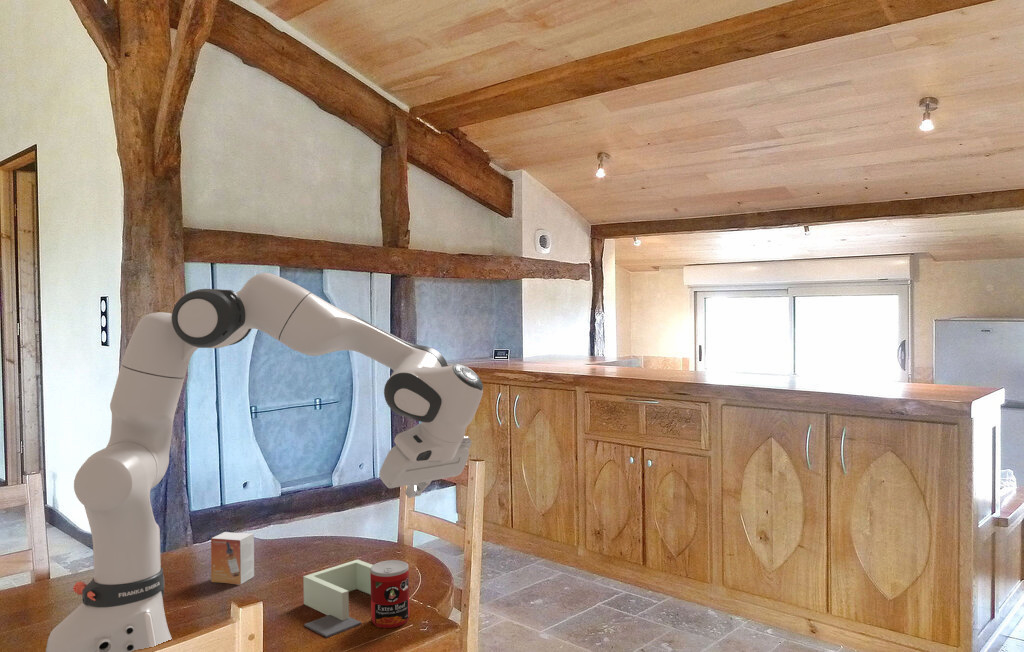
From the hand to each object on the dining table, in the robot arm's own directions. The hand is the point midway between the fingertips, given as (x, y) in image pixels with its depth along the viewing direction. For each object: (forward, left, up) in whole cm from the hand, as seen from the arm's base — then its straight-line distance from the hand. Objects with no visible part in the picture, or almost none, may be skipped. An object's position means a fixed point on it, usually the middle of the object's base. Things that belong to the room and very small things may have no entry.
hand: (412, 494), depth 148 cm
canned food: (-4, +2, -25) cm, 26 cm away
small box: (-14, +49, -25) cm, 57 cm away
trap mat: (-13, +9, -25) cm, 30 cm away
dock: (-4, +15, -25) cm, 30 cm away
